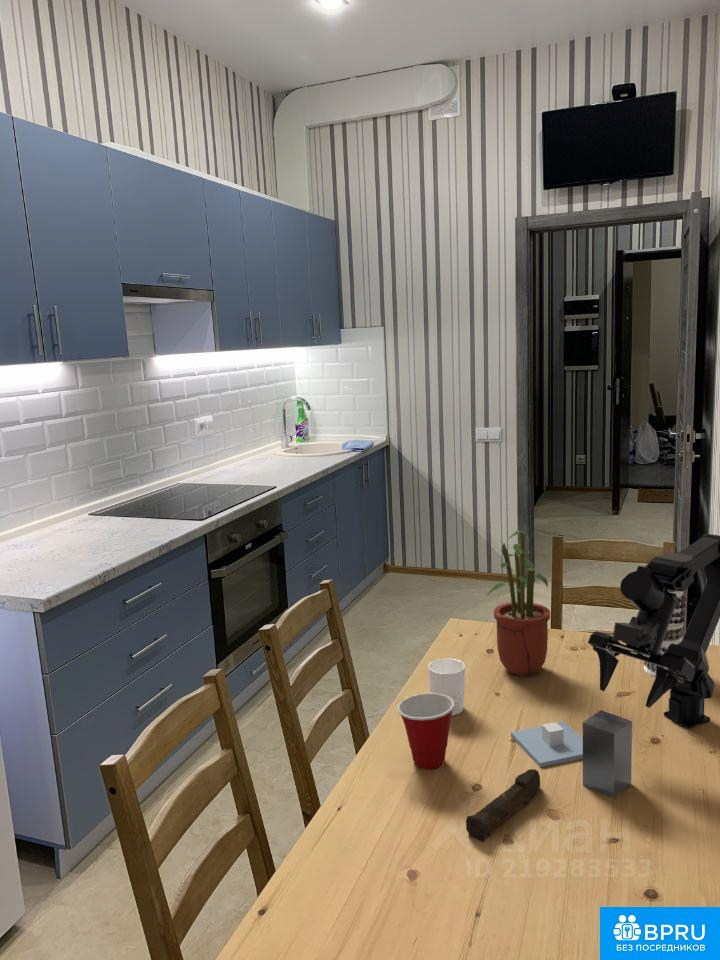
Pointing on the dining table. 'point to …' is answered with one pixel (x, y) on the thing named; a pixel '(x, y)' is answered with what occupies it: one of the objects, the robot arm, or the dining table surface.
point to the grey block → (607, 753)
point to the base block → (550, 743)
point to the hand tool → (504, 805)
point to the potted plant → (521, 617)
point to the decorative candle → (670, 631)
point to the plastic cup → (427, 727)
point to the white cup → (448, 680)
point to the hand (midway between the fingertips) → (624, 698)
